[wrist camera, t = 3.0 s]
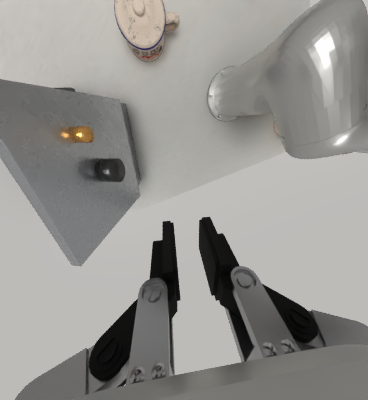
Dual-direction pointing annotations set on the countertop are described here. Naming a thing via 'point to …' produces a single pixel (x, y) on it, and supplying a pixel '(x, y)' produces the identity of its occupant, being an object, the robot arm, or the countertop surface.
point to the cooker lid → (68, 161)
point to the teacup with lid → (144, 26)
